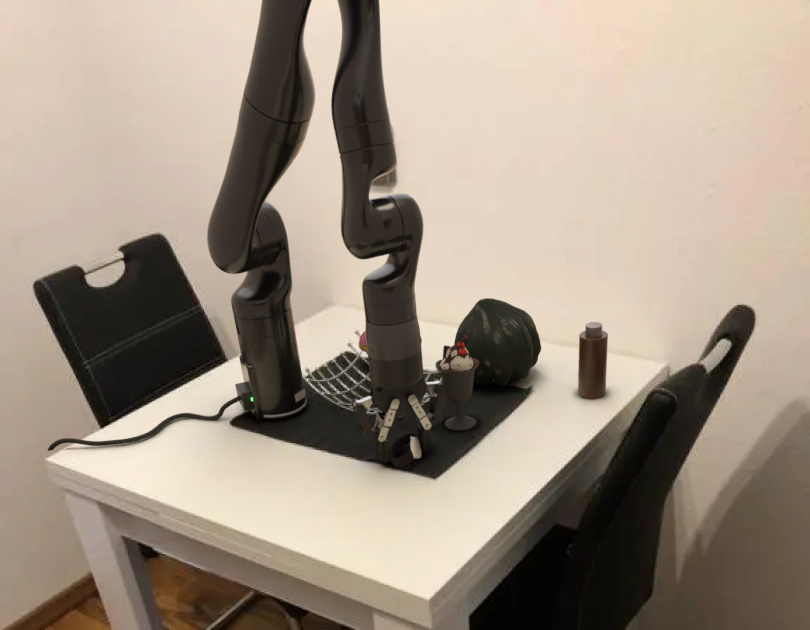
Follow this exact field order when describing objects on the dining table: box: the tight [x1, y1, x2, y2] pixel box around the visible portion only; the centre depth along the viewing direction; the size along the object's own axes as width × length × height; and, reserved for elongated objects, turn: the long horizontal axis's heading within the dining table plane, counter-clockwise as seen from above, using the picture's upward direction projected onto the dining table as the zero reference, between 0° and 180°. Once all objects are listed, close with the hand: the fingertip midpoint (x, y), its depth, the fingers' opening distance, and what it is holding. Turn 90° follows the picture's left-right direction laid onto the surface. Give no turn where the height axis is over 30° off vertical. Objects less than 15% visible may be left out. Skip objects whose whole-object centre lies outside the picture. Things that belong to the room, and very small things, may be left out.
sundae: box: [434, 335, 480, 432], centre depth 139 cm, size 7×7×15 cm
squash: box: [453, 297, 542, 387], centre depth 153 cm, size 14×15×15 cm
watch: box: [389, 432, 422, 468], centre depth 134 cm, size 8×5×4 cm, turn 168°
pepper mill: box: [577, 321, 609, 400], centre depth 145 cm, size 4×4×12 cm
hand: (404, 454), depth 135 cm, fingers closed on watch, 5 cm apart
